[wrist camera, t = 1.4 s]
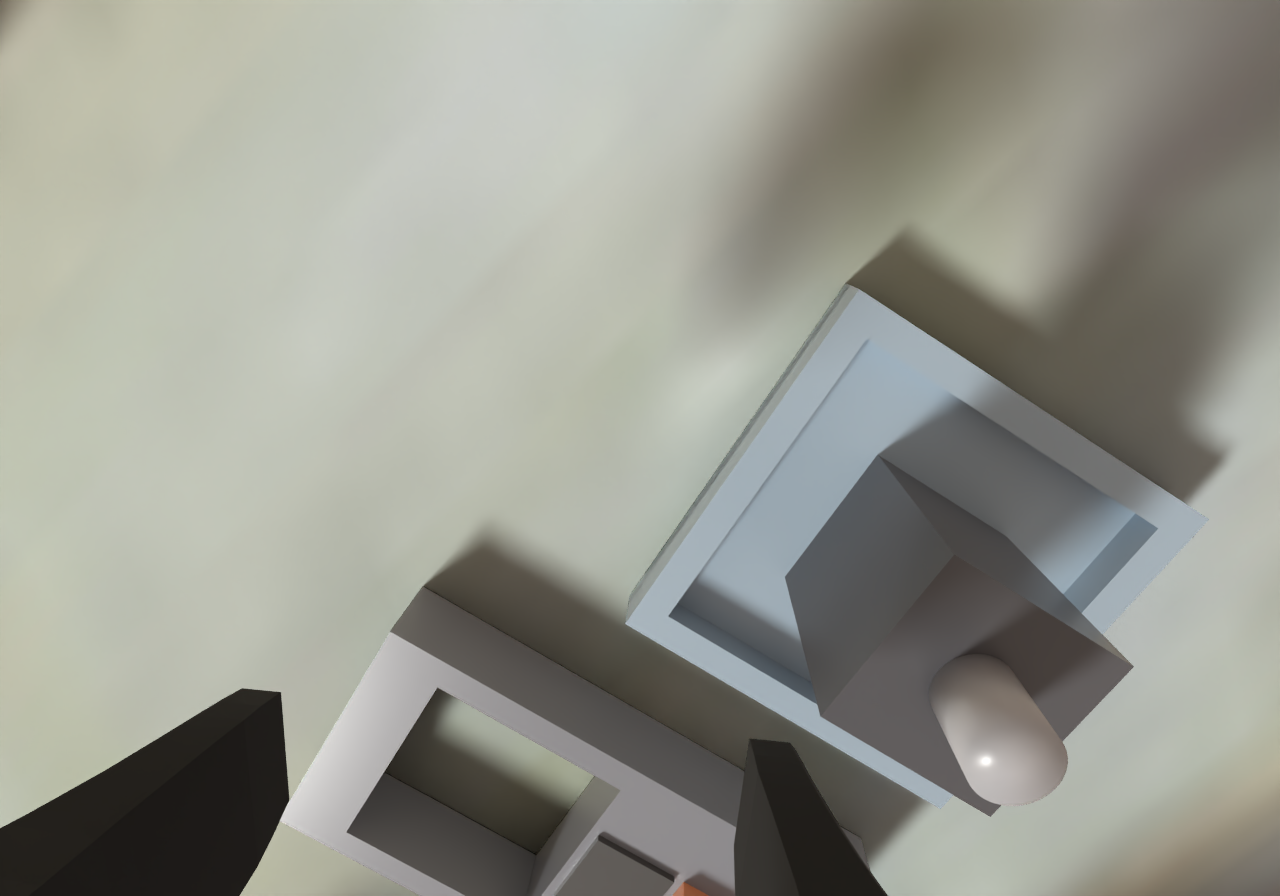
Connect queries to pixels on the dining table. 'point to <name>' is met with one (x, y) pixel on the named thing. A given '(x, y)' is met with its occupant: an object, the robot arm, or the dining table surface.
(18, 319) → the dining table surface
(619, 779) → the power strip
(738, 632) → the tray
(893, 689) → the plug
